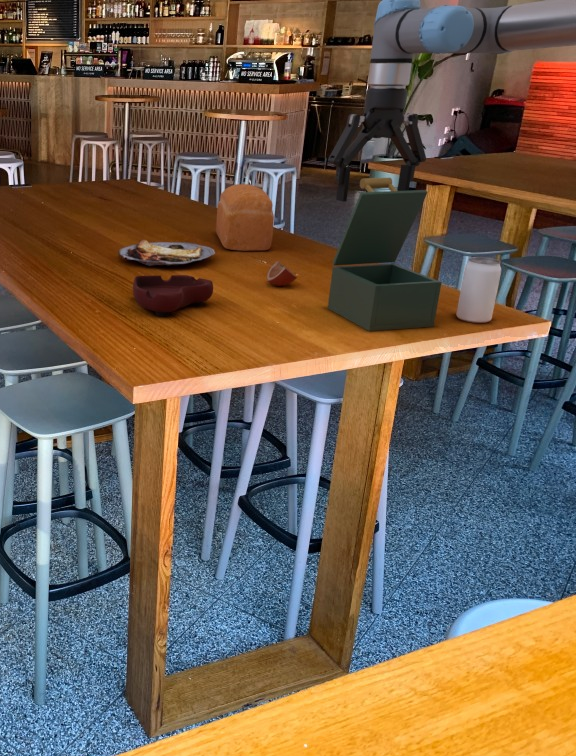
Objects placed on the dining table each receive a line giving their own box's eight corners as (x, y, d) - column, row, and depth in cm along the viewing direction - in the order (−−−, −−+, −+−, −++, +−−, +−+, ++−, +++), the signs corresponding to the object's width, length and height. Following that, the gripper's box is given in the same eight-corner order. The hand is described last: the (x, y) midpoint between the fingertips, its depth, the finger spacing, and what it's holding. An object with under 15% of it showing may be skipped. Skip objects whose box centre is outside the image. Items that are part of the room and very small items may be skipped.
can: (492, 317, 161) (504, 259, 156) (489, 325, 156) (501, 265, 151) (458, 312, 164) (468, 255, 159) (453, 320, 159) (464, 261, 154)
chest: (433, 326, 155) (441, 282, 152) (369, 331, 152) (375, 285, 149) (387, 304, 170) (393, 263, 166) (327, 308, 167) (332, 266, 164)
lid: (428, 192, 154) (408, 170, 159) (362, 194, 151) (345, 172, 156) (394, 262, 166) (378, 240, 171) (333, 265, 163) (318, 243, 169)
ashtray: (160, 290, 181) (161, 268, 179) (219, 303, 170) (220, 281, 169) (107, 305, 170) (107, 282, 168) (166, 321, 159) (168, 297, 157)
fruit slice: (262, 280, 189) (264, 259, 187) (291, 280, 189) (293, 260, 187) (269, 289, 181) (271, 268, 180) (299, 289, 181) (301, 268, 179)
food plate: (103, 263, 206) (103, 249, 205) (140, 246, 225) (141, 234, 224) (194, 274, 195) (195, 260, 194) (225, 256, 214) (226, 243, 212)
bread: (222, 251, 219) (226, 193, 213) (214, 232, 243) (217, 180, 238) (273, 252, 218) (278, 193, 212) (259, 233, 242) (264, 180, 236)
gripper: (432, 86, 158) (415, 194, 166) (318, 87, 154) (306, 198, 161) (457, 87, 151) (438, 200, 159) (338, 88, 147) (324, 204, 155)
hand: (371, 199), depth 160 cm, fingers open, 13 cm apart
